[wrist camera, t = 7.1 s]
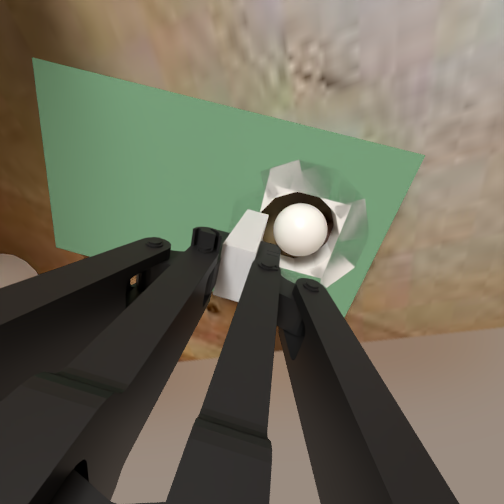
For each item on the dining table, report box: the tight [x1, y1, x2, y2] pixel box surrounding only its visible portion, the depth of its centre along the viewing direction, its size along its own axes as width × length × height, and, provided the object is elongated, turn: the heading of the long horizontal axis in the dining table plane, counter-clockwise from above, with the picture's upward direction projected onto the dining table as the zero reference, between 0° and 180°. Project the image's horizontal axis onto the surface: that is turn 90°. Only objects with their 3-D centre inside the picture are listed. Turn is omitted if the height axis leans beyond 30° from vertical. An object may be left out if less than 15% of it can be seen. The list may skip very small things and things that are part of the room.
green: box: [32, 57, 425, 317], centre depth 19 cm, size 26×14×2 cm, turn 77°
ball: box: [273, 203, 327, 256], centre depth 18 cm, size 4×4×4 cm
